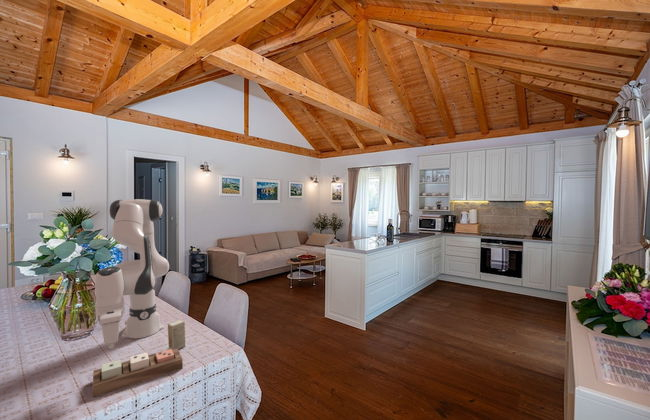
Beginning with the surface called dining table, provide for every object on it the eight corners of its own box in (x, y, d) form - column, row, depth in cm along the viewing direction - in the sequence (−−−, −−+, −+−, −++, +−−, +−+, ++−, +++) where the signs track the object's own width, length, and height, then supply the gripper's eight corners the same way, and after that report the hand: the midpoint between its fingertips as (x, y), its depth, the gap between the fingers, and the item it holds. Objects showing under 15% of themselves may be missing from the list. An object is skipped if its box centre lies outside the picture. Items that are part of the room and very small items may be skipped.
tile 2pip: (130, 368, 116) (129, 356, 116) (147, 363, 120) (147, 351, 120) (131, 376, 112) (130, 363, 111) (149, 370, 115) (149, 358, 115)
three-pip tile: (155, 364, 122) (155, 352, 122) (171, 360, 125) (171, 348, 125) (157, 371, 117) (157, 358, 117) (174, 366, 121) (174, 354, 121)
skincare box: (181, 343, 141) (181, 319, 140) (185, 346, 138) (185, 321, 137) (167, 348, 136) (167, 323, 135) (171, 352, 133) (171, 326, 132)
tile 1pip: (102, 377, 111) (101, 364, 111) (121, 371, 115) (120, 358, 114) (101, 385, 106) (101, 371, 106) (121, 379, 110) (121, 365, 110)
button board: (93, 380, 112) (93, 370, 112) (176, 355, 129) (176, 347, 129) (92, 397, 102) (92, 386, 102) (182, 368, 120) (182, 358, 120)
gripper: (100, 304, 116) (101, 338, 116) (99, 321, 99) (100, 360, 100) (119, 301, 120) (120, 334, 120) (121, 317, 103) (122, 355, 104)
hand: (111, 346), depth 110 cm, fingers closed
